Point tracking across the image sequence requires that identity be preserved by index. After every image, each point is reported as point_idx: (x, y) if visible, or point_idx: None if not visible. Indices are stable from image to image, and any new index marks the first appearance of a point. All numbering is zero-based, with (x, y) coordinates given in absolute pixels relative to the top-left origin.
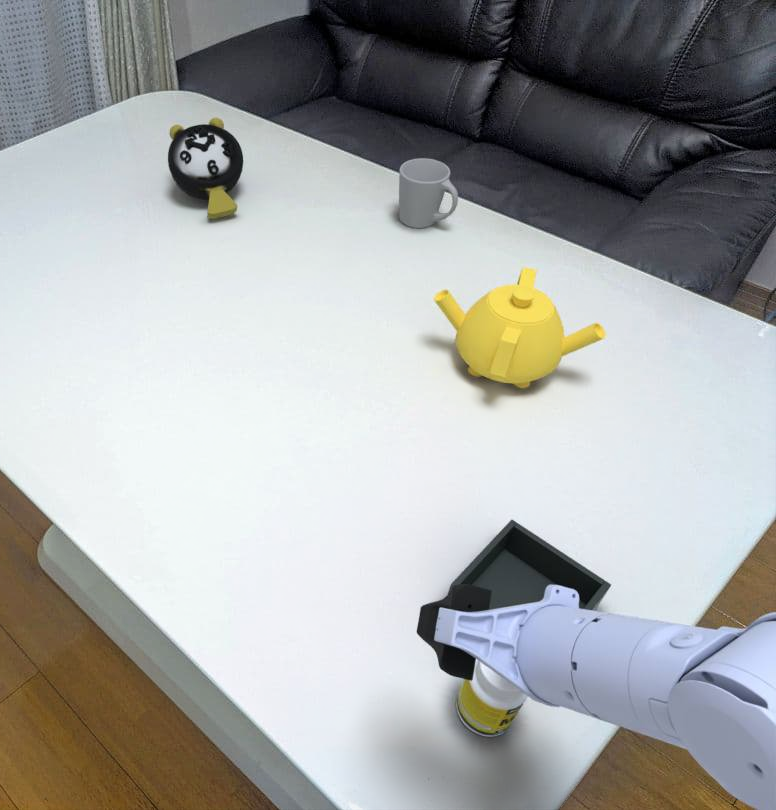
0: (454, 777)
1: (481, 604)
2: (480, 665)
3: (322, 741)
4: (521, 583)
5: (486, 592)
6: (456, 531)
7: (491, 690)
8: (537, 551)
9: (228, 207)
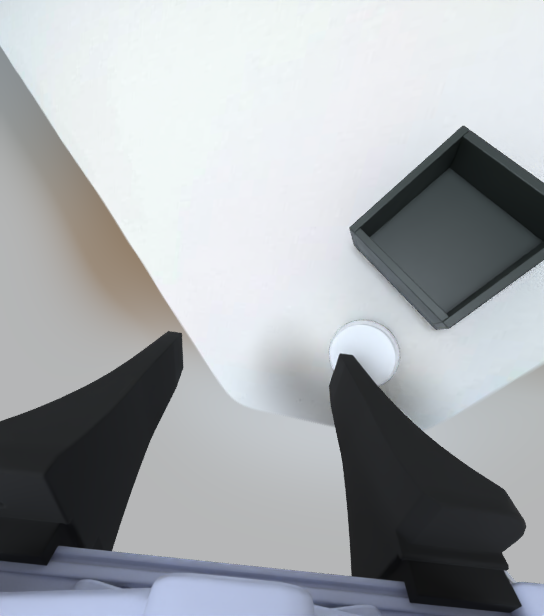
0: (322, 403)
1: (30, 499)
2: (329, 350)
3: (227, 357)
4: (456, 213)
5: (27, 479)
6: (396, 149)
7: None
8: (489, 171)
9: None
